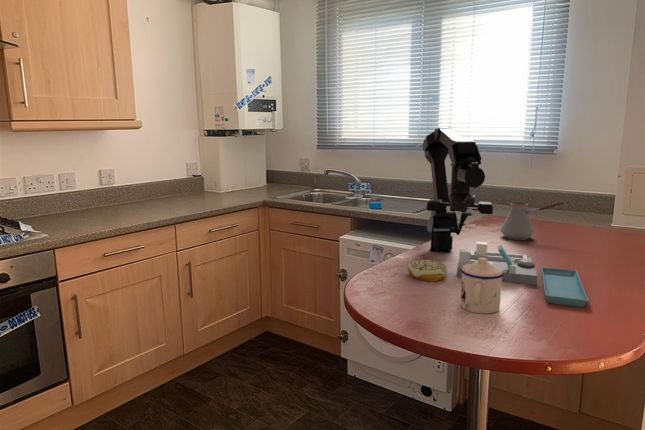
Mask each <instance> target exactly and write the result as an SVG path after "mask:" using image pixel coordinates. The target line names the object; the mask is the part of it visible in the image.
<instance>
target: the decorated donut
mask: <svg viewBox="0 0 645 430" xmlns="http://www.w3.org/2000/svg"><path fill="white" fill-rule="evenodd" d="M447 269H448V268H447V266H446V265H445V264H443V263H442V262H439V261H435V260H431V259H423V260H422V259H421V260H419V259H418V260H413V261H411V262H409V264H407V270H408V273H409V274H410V276H411V277H413V278H414V279H417V280H420V281H425V282H439V281H442V280H443V279H444V278H445V277H446V275H447V272H448V271H447Z"/></svg>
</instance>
